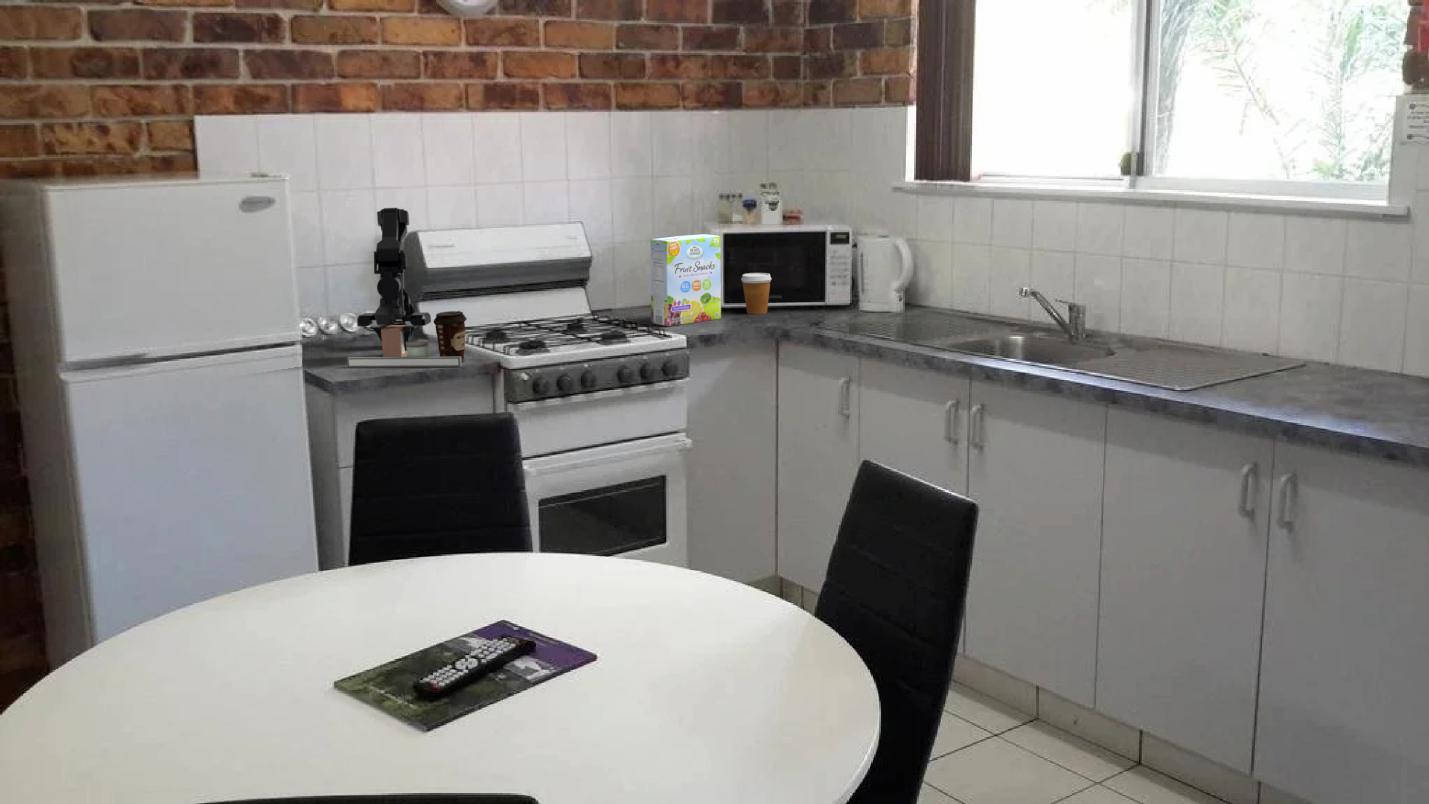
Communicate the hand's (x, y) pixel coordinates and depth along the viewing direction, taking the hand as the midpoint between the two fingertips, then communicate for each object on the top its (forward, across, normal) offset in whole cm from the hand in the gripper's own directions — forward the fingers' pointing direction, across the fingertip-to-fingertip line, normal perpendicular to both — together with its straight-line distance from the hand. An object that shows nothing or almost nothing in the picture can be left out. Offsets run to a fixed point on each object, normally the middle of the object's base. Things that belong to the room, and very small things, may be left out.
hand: (396, 351), depth 364 cm
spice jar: (+2, +10, -10) cm, 14 cm away
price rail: (+2, +7, -14) cm, 16 cm away
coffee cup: (+2, +18, -8) cm, 20 cm away
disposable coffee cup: (+2, +92, +71) cm, 116 cm away
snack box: (+2, +72, +55) cm, 91 cm away
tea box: (+2, 0, 0) cm, 2 cm away
